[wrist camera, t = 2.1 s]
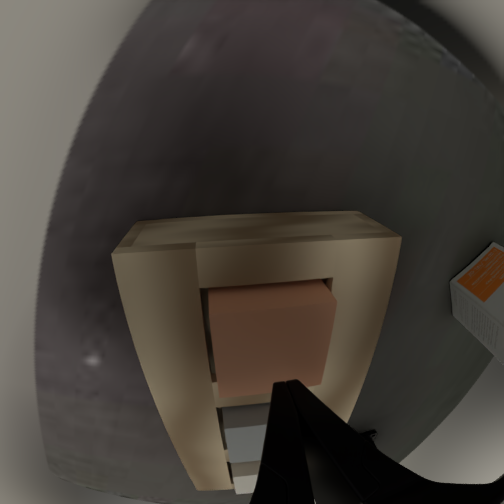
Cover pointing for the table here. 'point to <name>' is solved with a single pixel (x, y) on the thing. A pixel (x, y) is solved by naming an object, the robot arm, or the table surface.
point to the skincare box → (482, 299)
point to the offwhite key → (245, 476)
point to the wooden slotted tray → (245, 273)
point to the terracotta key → (270, 334)
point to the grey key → (245, 431)
